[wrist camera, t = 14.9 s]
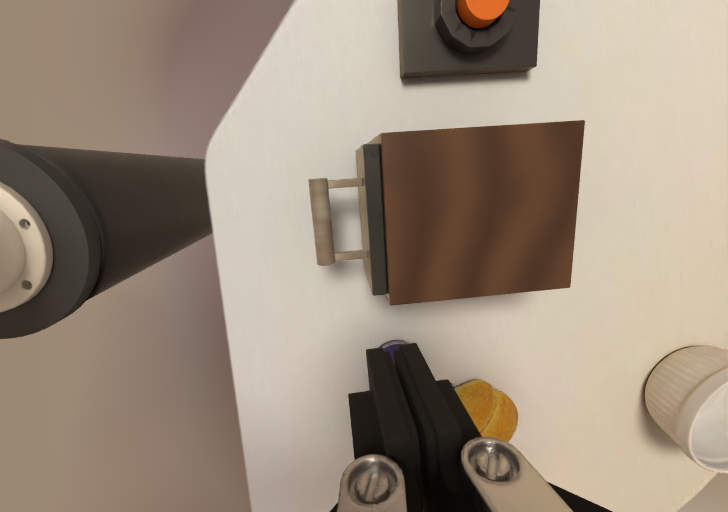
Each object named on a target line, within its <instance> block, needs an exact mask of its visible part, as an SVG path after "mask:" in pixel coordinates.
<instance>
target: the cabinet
mask: <svg viewBox="0 0 728 512" xmlns="http://www.w3.org/2000/svg"><path fill="white" fill-rule="evenodd" d="M584 125H585V121H584V120H580V121H564V122H548V123H532V124H517V125H501V126H485V127H469V128H454V129H438V130H422V131H406V132H391V133H381V134H379V135H378V136H377V137H375V138H374V139H373V140H371V141H370V142H369V143H368V144H377V143H378V144H379V145H380V161H381V179H382V198H383V217H384V235H385V254H386V272H387V291H388V293H387V294H386V297H387V299H388V301H389V304H390V305H400V304H410V303H420V302H430V301H440V300H450V299H460V298H470V297H480V296H491V295H501V294H511V293H521V292H531V291H541V290H551V289H561V288H570V284H571V273H572V262H573V250H574V239H575V227H576V216H577V205H578V193H579V182H580V170H581V159H582V148H583V136H584Z"/></svg>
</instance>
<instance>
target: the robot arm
mask: <svg viewBox="0 0 728 512" xmlns="http://www.w3.org/2000/svg"><path fill="white" fill-rule="evenodd" d="M52 264H53V248H52V243H51V239H50V235H49V233H48V231H47V228H46V226H45V224H44V222H43V220H42V219H41V217H40V216H39V214H38V213H37V211H36V210H35V209H34V208H33V207H32V206H31V204H30V203H29V202H28V201H27V200H26V199H25V198H24V197H22V196H21V195H20V194H19V193H17V192H16V191H15V190H14V189H12V188H11V187H9V186H7V185H6V184H4V183H2V182H0V312H3V311H6V310H9V309H12V308H15V307H17V306H19V305H21V304H23V303H25V302H27V301H29V300H30V299H31V298H33V297H34V296H35V295H37V294H38V293H39V291H40V290H41V289H42V288H43V287H44V285H45V284H46V282H47V280H48V278H49V276H50V273H51V269H52ZM366 357H367V367H368V377H369V387H370V391H364V392H358V393H351V394H348V396H349V407H350V417H351V427H352V437H353V448H354V458H355V460H354V461H353V462H352V463H351V464H349V465H348V467H347V468H346V470H345V471H344V472H343V475H342V479H341V483H340V491H339V499H338V503H337V504H336V505H335V506H334V508H333V509H332V510H331V511H330V512H423V511H424V512H612V511H610V510H608V509H606V508H604V507H601V506H599V505H597V504H595V503H593V502H590V501H588V500H586V499H584V498H582V497H579V496H577V495H575V494H573V493H571V492H568V491H566V490H564V489H562V488H560V487H557V486H555V485H553V484H551V483H549V482H546V480H545V479H544V478H543V477H542V476H541V475H540V474H539V473H538V471H537V470H536V469H535V468H534V467H533V466H532V465H531V464H530V462H529V461H528V460H527V459H526V458H525V457H524V456H523V455H522V454H521V452H520V451H519V450H517V449H516V448H515V447H514V446H513V445H511V444H509V443H508V442H506V441H504V440H501V439H498V438H495V437H485V436H484V437H482V436H481V434H480V432H479V431H478V429H477V427H476V425H475V424H474V422H473V420H472V419H471V417H470V415H469V413H468V412H467V410H466V408H465V407H464V405H463V403H462V401H461V400H460V398H459V396H458V395H457V393H456V391H455V389H454V388H453V386H452V384H451V383H450V381H449V380H440V381H436V380H435V378H434V377H433V375H432V373H431V371H430V369H429V367H428V365H427V363H426V361H425V359H424V357H423V355H422V353H421V351H420V349H419V348H418V346H417V344H416V343H411V344H404V345H399V350H394V363H393V360H392V357H391V354H390V352H389V351H385V352H384V351H383V348H374V349H367V350H366ZM394 364H395V366H394Z"/></svg>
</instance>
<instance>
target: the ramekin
mask: <svg viewBox="0 0 728 512" xmlns="http://www.w3.org/2000/svg"><path fill="white" fill-rule="evenodd" d="M645 401H646V406H647V409H648V411H649V414H650V415H651V417H652V418H653V419H654V421H655V422H656V423H657V424H658V425H659V426H660V427H661V428H662V429H663V430H664V431H665V432H666V433H667V434H668V435H669V436H670V437H671V438H672V439H673V440H674V441H675V442H676V443H677V444H678V445H679V446H680V448H681V449H682V451H683V452H684V453H685V454H686V456H687V457H689V458H690V459H691V460H693V461H694V462H695V463H697V464H698V465H699V466H701V467H702V468H704V469H706V470H709V471H712V472H718V473H728V351H727V350H724V349H720V348H717V347H711V346H695V347H688V348H684V349H681V350H678V351H676V352H674V353H672V354H670V355H669V356H667V357H666V358H665V359H663V360H662V361H661V362H660V363H659V364H658V365H657V366H656V367H655V369H654V370H653V371H652V373H651V374H650V376H649V378H648V381H647V383H646V387H645Z"/></svg>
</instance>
